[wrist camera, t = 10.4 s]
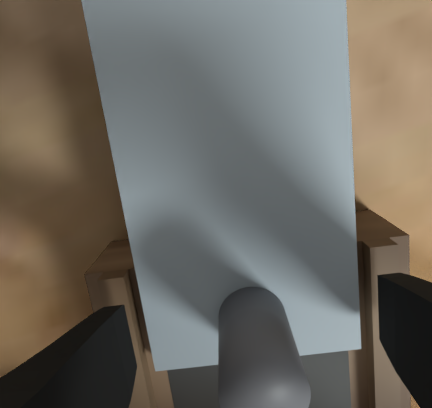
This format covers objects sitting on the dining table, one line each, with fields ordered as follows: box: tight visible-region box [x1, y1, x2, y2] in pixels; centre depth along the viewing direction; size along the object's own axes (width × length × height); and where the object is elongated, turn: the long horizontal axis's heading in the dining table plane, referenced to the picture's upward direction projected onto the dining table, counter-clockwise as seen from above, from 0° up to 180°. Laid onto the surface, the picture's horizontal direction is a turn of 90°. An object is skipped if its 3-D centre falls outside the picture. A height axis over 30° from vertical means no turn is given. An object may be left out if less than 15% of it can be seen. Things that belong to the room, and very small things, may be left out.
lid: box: [81, 0, 361, 408], centre depth 9 cm, size 12×6×4 cm, turn 8°
